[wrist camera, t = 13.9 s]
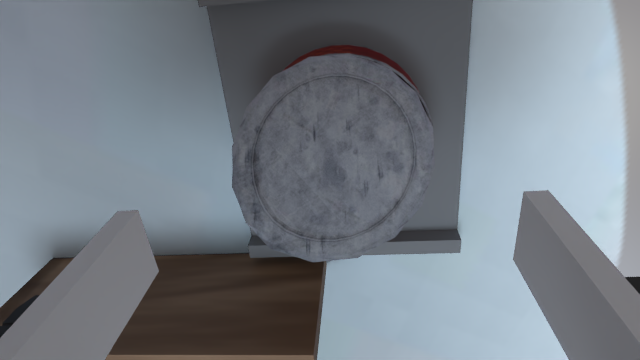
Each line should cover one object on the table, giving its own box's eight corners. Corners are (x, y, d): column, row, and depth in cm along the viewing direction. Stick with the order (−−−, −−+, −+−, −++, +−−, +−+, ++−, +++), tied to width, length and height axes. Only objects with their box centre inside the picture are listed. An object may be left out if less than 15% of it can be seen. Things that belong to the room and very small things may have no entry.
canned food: (271, 97, 29) (173, 68, 20) (408, 35, 26) (367, -36, 16) (320, 252, 28) (242, 297, 19) (469, 210, 25) (461, 241, 15)
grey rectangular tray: (205, -16, 22) (194, -15, 21) (473, -43, 21) (482, -44, 19) (255, 244, 30) (250, 257, 28) (455, 238, 28) (460, 252, 27)
